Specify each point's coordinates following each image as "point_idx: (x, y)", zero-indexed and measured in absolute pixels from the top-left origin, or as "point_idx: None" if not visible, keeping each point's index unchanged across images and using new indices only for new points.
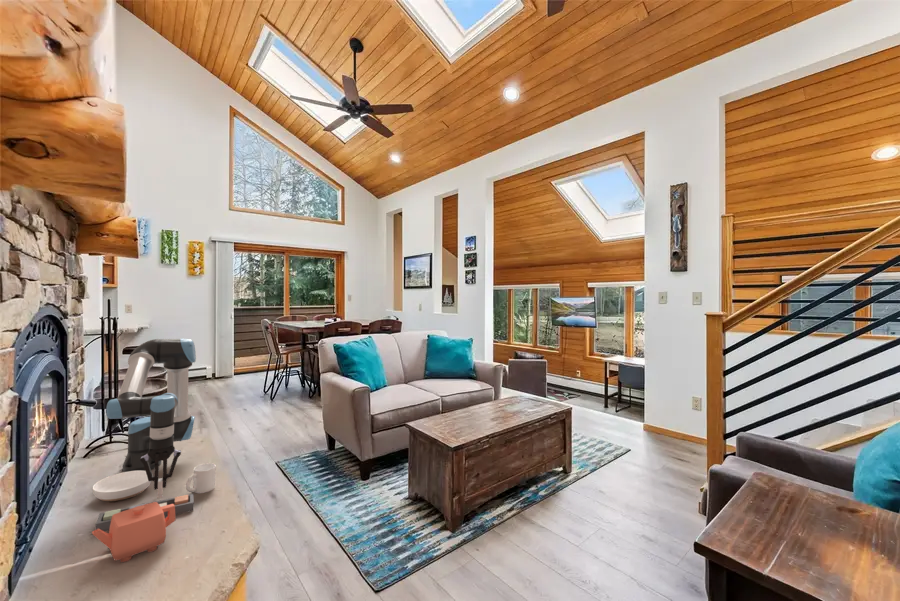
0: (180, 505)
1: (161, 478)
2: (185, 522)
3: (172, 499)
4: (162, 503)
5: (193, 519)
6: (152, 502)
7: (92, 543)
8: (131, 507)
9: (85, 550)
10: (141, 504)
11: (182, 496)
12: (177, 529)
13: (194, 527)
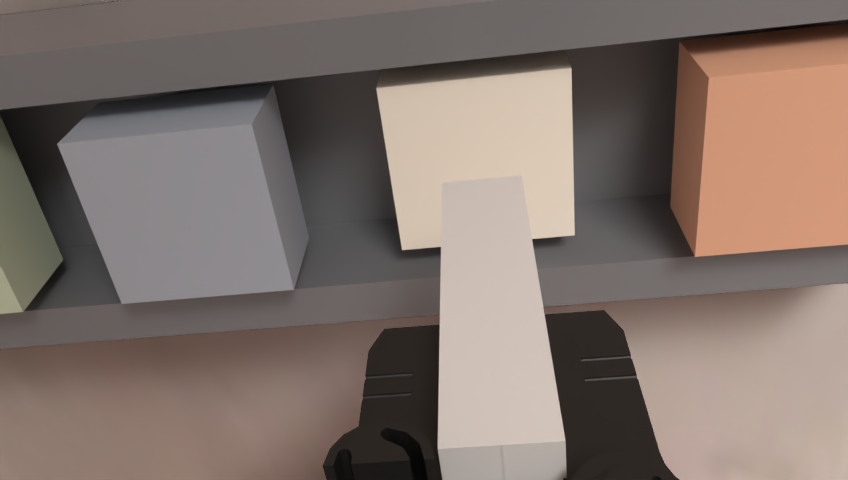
0: (757, 286)
1: (523, 453)
2: (751, 366)
3: (658, 35)
4: (510, 84)
5: (833, 342)
6: (352, 30)
7: (3, 396)
8: (96, 178)
9: (11, 466)
10: (213, 139)
11: (829, 103)
12: (673, 447)
13: (814, 469)
